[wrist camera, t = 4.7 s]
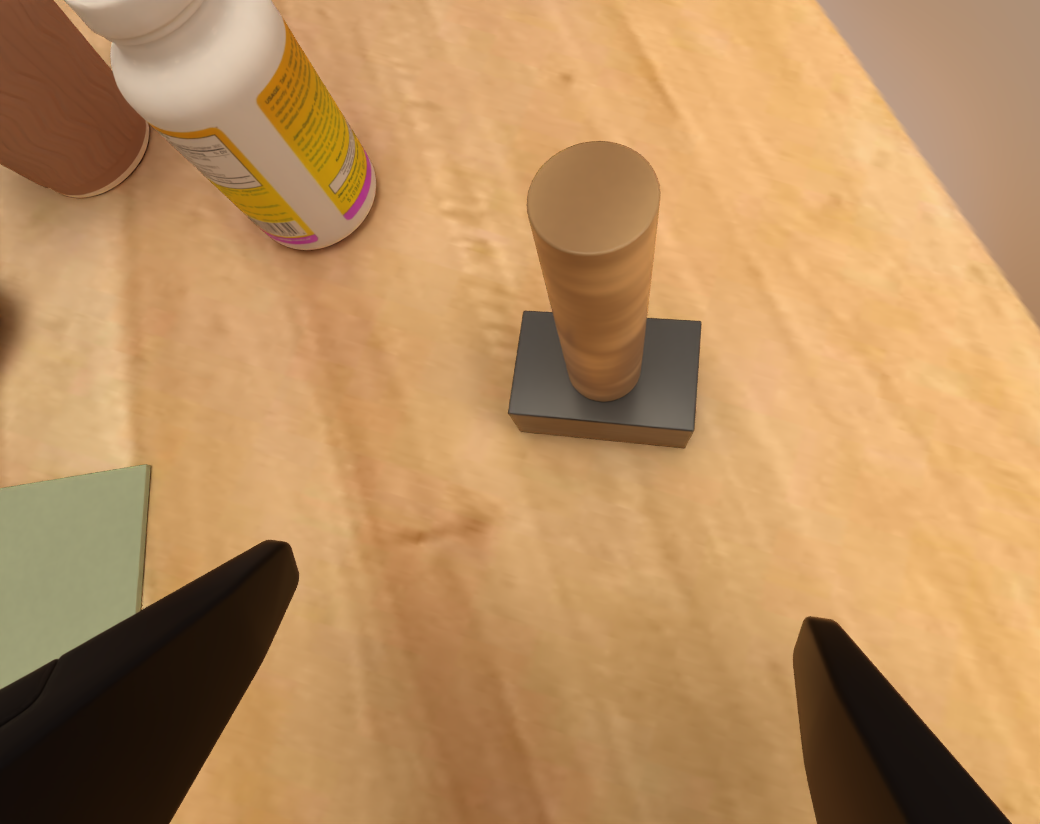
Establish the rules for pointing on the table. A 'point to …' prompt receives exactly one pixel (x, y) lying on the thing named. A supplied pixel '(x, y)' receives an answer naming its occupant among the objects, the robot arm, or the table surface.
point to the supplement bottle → (241, 110)
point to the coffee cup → (62, 105)
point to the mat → (68, 563)
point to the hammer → (602, 309)
